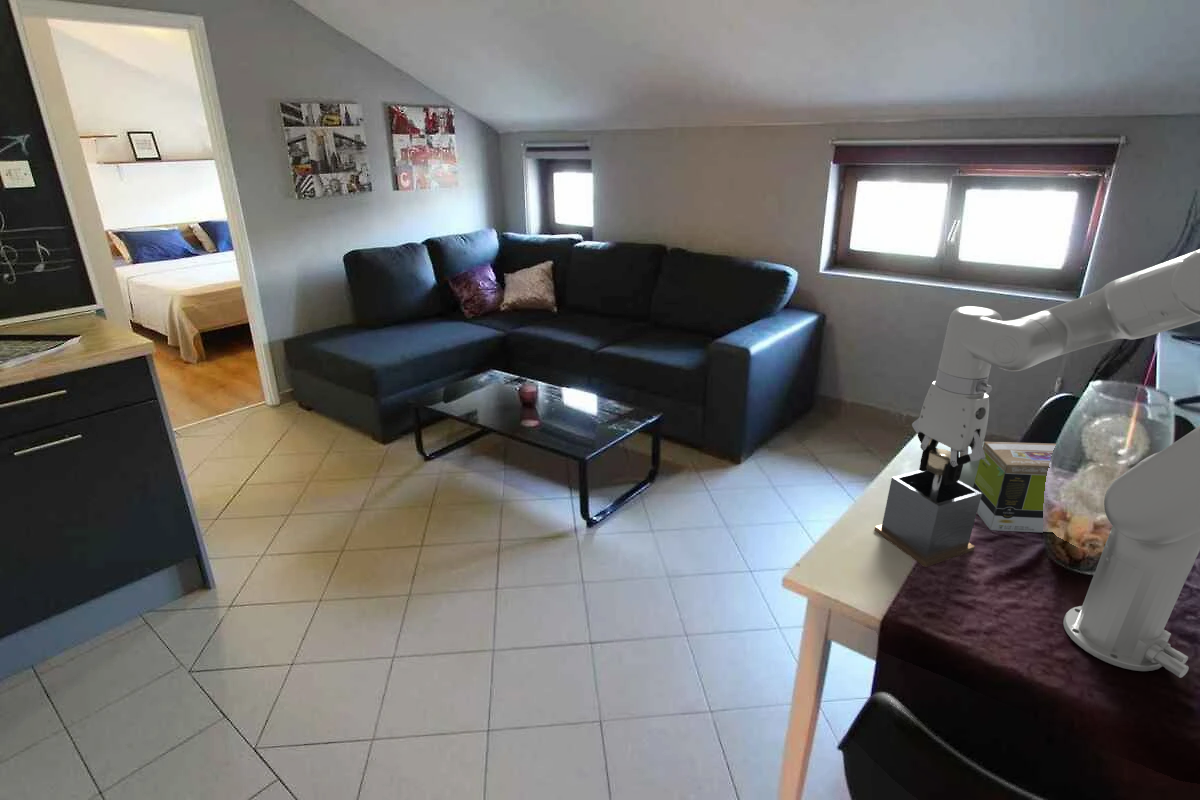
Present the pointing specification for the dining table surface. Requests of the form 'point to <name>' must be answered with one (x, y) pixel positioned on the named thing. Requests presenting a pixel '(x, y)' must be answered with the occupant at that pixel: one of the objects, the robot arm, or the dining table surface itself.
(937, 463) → the plunger
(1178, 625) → the dining table surface
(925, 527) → the press housing
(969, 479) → the air freshener
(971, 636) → the dining table surface
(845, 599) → the dining table surface
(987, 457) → the tea box
